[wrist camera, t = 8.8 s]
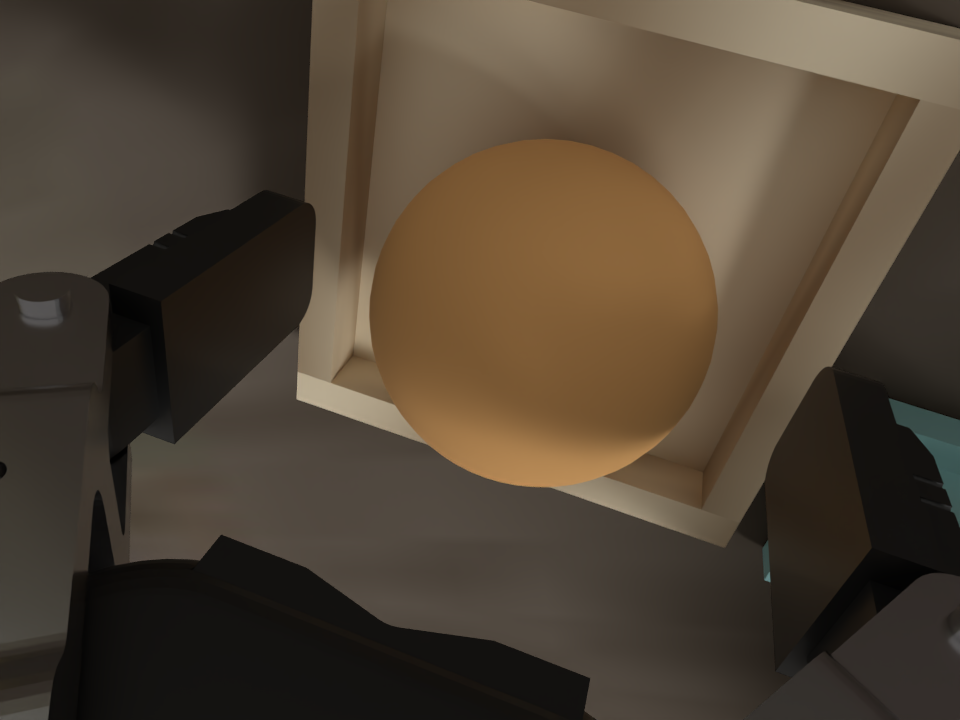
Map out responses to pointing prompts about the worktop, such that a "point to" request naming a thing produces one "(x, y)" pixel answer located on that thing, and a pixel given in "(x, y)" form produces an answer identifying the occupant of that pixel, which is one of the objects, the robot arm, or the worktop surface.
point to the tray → (664, 155)
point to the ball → (543, 313)
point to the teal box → (946, 439)
